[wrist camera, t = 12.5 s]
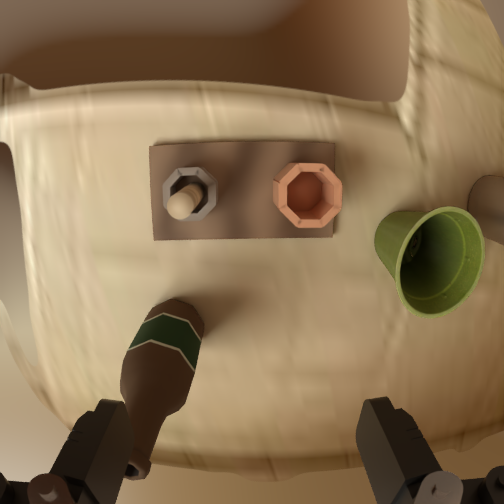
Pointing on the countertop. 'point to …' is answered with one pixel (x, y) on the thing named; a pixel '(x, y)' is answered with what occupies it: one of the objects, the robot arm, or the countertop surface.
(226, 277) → the countertop surface
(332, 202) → the terracotta cup
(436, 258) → the plant pot
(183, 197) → the birch dowel
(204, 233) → the peg socket board
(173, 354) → the beer bottle
